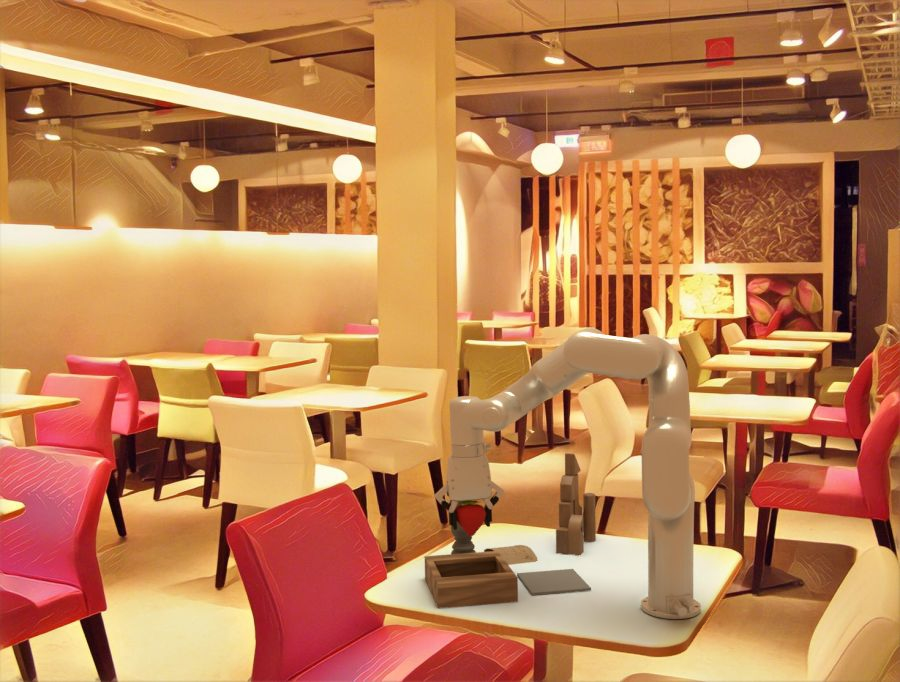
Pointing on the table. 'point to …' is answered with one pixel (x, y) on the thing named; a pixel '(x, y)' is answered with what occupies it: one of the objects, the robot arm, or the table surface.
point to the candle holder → (461, 540)
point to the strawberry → (470, 516)
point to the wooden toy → (574, 512)
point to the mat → (553, 582)
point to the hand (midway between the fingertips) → (470, 526)
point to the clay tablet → (516, 554)
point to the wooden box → (470, 579)
